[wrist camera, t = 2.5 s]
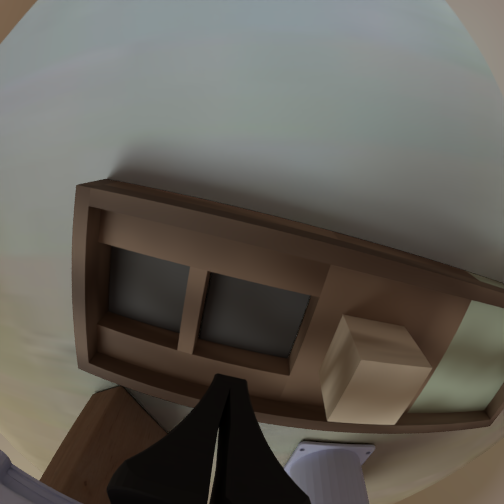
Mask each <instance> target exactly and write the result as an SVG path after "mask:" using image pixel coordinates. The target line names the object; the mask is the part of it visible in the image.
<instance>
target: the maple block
mask: <svg viewBox="0 0 504 504" xmlns="http://www.w3.org/2000/svg"><path fill="white" fill-rule="evenodd" d="M431 370H432V367H431V365H430V363H429V362H428V360H427V359H426V357H425V356H424V354H423V353H422V351H421V350H420V348H419V347H418V345H417V344H416V342H415V341H414V340H413V338H412V337H411V335H410V334H409V332H408V331H407V329H406V328H405V327H404V326H399V325H394V324H389V323H383V322H378V321H373V320H368V319H363V318H358V317H353V316H348V315H342V318H341V320H340V323H339V325H338V328H337V330H336V332H335V335H334V337H333V340H332V342H331V344H330V346H329V349H328V351H327V353H326V356H325V358H324V360H323V362H322V364H321V367H320V369H319V371H318V374H319V379H320V385H321V390H322V395H323V401H324V406H325V412H326V418H327V421H330V422H341V423H356V424H377V425H395V423H396V422H397V421H398V419H399V418H400V417H401V415H402V414H403V412H404V411H405V410H406V408H407V407H408V405H409V404H410V402H411V401H412V399H413V398H414V396H415V395H416V393H417V392H418V390H419V389H420V387H421V386H422V384H423V383H424V381H425V379H426V378H427V376H428V375H429V373H430V371H431Z"/></svg>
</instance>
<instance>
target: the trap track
mask: <svg viewBox="0 0 504 504" xmlns="http://www.w3.org/2000/svg"><path fill="white" fill-rule="evenodd" d="M211 272H212V276H211V281H210V286H209V291H208V296H207V301H206V306H205V311H204V316H203V321H202V327H201V332H200V337H199V331H200V326H201V320H202V315H203V310H204V305H205V299H206V294H207V289H208V284H209V279H210V274H211ZM109 282H110V283H109ZM310 295H311V297H310ZM309 297H310V300H309ZM308 300H309V303H308ZM307 303H308V305H307ZM72 304H73V321H74V334H75V345H76V354H77V362H78V368H79V369H81V370H83V371H86V372H88V373H91V374H93V375H95V376H98V377H100V378H103V379H106V380H108V381H111V382H113V383H116V384H119V385H121V386H124V387H127V388H130V389H133V390H136V391H139V392H142V393H145V394H148V395H151V396H154V397H157V398H160V399H164V400H167V401H170V402H174V403H177V404H181V405H185V406H188V407H192V408H194V407H195V406H196V405H197V404H198V402H199V401H200V400H201V398H202V397H203V396H204V394H205V393H206V391H207V390H208V388H209V386H210V385H211V383H212V381H213V378H214V375H215V374H217V373H219V374H223V375H227V376H232V377H236V378H241V379H245V380H246V381H247V384H248V391H249V396H250V400H251V403H252V407H253V410H254V413H255V416H256V419H257V421H258V422H261V423H267V424H274V425H280V426H287V427H295V428H303V429H312V430H322V431H334V432H350V433H377V434H403V433H429V432H444V431H455V430H465V429H473V428H480V427H487V426H490V425H491V424H492V423H493V422H494V420H495V419H496V418H497V416H498V415H499V414H500V413H501V411H502V410H503V409H504V283H501V282H498V281H495V280H492V279H489V278H486V277H483V276H480V275H477V274H474V273H471V272H468V271H465V270H462V269H459V268H456V267H452V266H449V265H446V264H443V263H440V262H437V261H433V260H430V259H427V258H424V257H420V256H417V255H414V254H410V253H407V252H404V251H400V250H397V249H394V248H390V247H387V246H383V245H380V244H376V243H373V242H369V241H366V240H362V239H359V238H355V237H352V236H348V235H344V234H341V233H337V232H333V231H330V230H326V229H322V228H318V227H315V226H311V225H307V224H303V223H299V222H296V221H292V220H288V219H284V218H280V217H276V216H272V215H268V214H264V213H260V212H256V211H252V210H247V209H243V208H239V207H235V206H231V205H226V204H222V203H218V202H213V201H209V200H205V199H200V198H196V197H191V196H187V195H182V194H178V193H173V192H168V191H164V190H159V189H154V188H149V187H145V186H140V185H135V184H130V183H125V182H120V181H115V180H109V179H103V180H98V181H93V182H88V183H83V184H79V185H76V194H75V205H74V218H73V235H72ZM306 306H307V308H306ZM305 309H306V311H305ZM304 312H305V314H304ZM303 315H304V317H303ZM342 315H348V316H353V317H358V318H363V319H368V320H373V321H378V322H383V323H389V324H394V325H399V326H404V327H405V328H406V329H407V331H408V332H409V334H410V335H411V337H412V338H413V340H414V341H415V342H416V344H417V345H418V347H419V348H420V350H421V351H422V353H423V354H424V356H425V357H426V359H427V360H428V362H429V363H430V365H431V367H432V370H431V371H430V373H429V375H428V376H427V378H426V379H425V381H424V383H423V384H422V386H421V387H420V389H419V390H418V392H417V393H416V395H415V396H414V398H413V399H412V401H411V402H410V404H409V405H408V407H407V408H406V410H405V411H404V412H403V414H402V415H401V417H400V418H399V419H398V421H397V422H396V423H395V425H377V424H356V423H341V422H330V421H327V418H326V412H325V406H324V401H323V395H322V390H321V385H320V379H319V374H318V371H319V369H320V367H321V364H322V362H323V360H324V358H325V356H326V353H327V351H328V349H329V346H330V344H331V342H332V340H333V337H334V335H335V332H336V330H337V328H338V325H339V323H340V320H341V318H342ZM302 317H303V320H302ZM301 320H302V322H301ZM300 323H301V325H300ZM299 326H300V328H299ZM298 329H299V331H298ZM297 331H298V333H297ZM296 334H297V336H296ZM198 337H199V338H198ZM295 337H296V339H295ZM294 340H295V341H294ZM293 342H294V344H293ZM292 345H293V347H292ZM291 348H292V349H291ZM290 350H291V352H290ZM289 353H290V355H289ZM288 356H289V357H288Z"/></svg>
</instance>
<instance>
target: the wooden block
mask: <svg viewBox="0 0 504 504" xmlns="http://www.w3.org/2000/svg"><path fill="white" fill-rule="evenodd" d="M167 434H168V433H167V432H166V431H165V430H163V429H162V428H161V427H160V426H159V425H158V424H157V423H156V422H155V421H154V420H153V419H152V418H151V417H150V415H149V414H148V413H147V412H146V411H145V410H144V409H143V408H142V407H141V406H140V405H139V404H138V403H137V402H136V401H135V400H134V398H133V397H132V396H131V395H130V394H129V393H128V392H127V391H126V390H125V388H124V387H122V386H118V387H115V388H112V389H109V390H105V391H102V392H99V393H95V394H93V395H92V397H91V398H90V400H89V401H88V403H87V404H86V406H85V407H84V409H83V410H82V412H81V413H80V415H79V416H78V418H77V420H76V421H75V423H74V424H73V426H72V427H71V429H70V431H69V432H68V434H67V435H66V437H65V439H64V440H63V442H62V444H61V445H60V447H59V449H58V450H57V452H56V453H55V455H54V457H53V458H52V460H51V462H50V464H49V465H48V467H47V469H46V470H45V472H44V474H43V475H42V477H41V479H40V482H42V483H44V484H46V485H47V486H49V487H51V488H53V489H55V490H56V491H58V492H60V493H62V494H64V495H66V496H68V497H70V498H72V499H74V500H76V501H78V502H80V503H83V504H111V503H110V500H109V497H108V495H107V492H106V489H107V486H108V484H109V481H110V479H111V477H112V476H113V474H114V473H115V471H116V470H117V469H118V467H119V466H120V465H121V464H122V463H123V462H124V461H125V460H126V459H128V458H130V457H132V456H134V455H136V454H138V453H140V452H142V451H144V450H145V449H147V448H148V447H150V446H151V445H153V444H154V443H156V442H157V441H159V440H160V439H162V438H163V437H164V436H166V435H167Z"/></svg>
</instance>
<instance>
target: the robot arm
mask: <svg viewBox="0 0 504 504" xmlns="http://www.w3.org/2000/svg"><path fill="white" fill-rule="evenodd" d="M218 428H219V436H218V448H217V461H216V471H215V477H214V482H213V488H212V493H211V498H210V503H209V504H369V500H368V495H367V490H366V485H365V481H364V476H363V472H362V467H361V465H362V464H363V463H364V462H365V461H366V460H367V458H368V457H369V456H370V455H371V454H372V453H373V451H374V450H375V445H361V444H336V443H322V442H310V441H302V442H300V443H299V444H298V446H297V447H296V449H295V451H294V452H293V454H292V455H291V457H290V459H289V460H288V462H287V463H286V465H285V466H284V468H283V467H282V466H281V464H280V463H279V462H278V460H277V459H276V457H275V456H274V454H273V452H272V451H271V449H270V447H269V445H268V443H267V442H266V440H265V438H264V435H263V433H262V431H261V429H260V426H259V424H258V421H257V419H256V416H255V413H254V410H253V407H252V403H251V400H250V396H249V391H248V384H247V381H246V380H245V379H241V378H236V377H232V376H227V375H223V374H219V373H217V374H215V375H214V378H213V381H212V383H211V385H210V386H209V388H208V390H207V391H206V393H205V394H204V396H203V397H202V398H201V400H200V401H199V402H198V404H197V405H196V406H195V407H194V409H193V410H192V411H191V412H190V413H189V414H188V415H187V416H186V417H185V419H184V420H183V421H182V422H181V423H179V424H178V425H177V426H176V427H175V428H174V429H173V430H172V431H170V432H169V433H168V434H167V435H166V436H164V437H163V438H162V439H160V440H159V441H157V442H156V443H154V444H153V445H151V446H150V447H148V448H147V449H145V450H144V451H142V452H140V453H138V454H136V455H134V456H132V457H130V458H128V459H126V460H125V461H124V462H123V463H122V464H121V465H120V466H119V467H118V469H117V470H116V471H115V473H114V474H113V476H112V477H111V479H110V481H109V484H108V486H107V489H106V492H107V495H108V497H109V500H110V503H111V504H207V501H208V495H209V486H210V478H211V471H212V464H213V457H214V450H215V444H216V437H217V431H218ZM0 504H83V503H80V502H78V501H76V500H74V499H72V498H70V497H68V496H66V495H64V494H62V493H60V492H58V491H56V490H55V489H53V488H51V487H49V486H47V485H46V484H44V483H42V482H40V481H39V480H37V479H35V478H34V477H32V476H30V475H28V474H27V473H25V472H24V471H22V470H21V469H19V468H18V467H16V466H15V465H13V464H12V463H11V461H10V459H9V457H8V456H7V455H6V454H5V453H4V452H3V451H1V450H0Z"/></svg>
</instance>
